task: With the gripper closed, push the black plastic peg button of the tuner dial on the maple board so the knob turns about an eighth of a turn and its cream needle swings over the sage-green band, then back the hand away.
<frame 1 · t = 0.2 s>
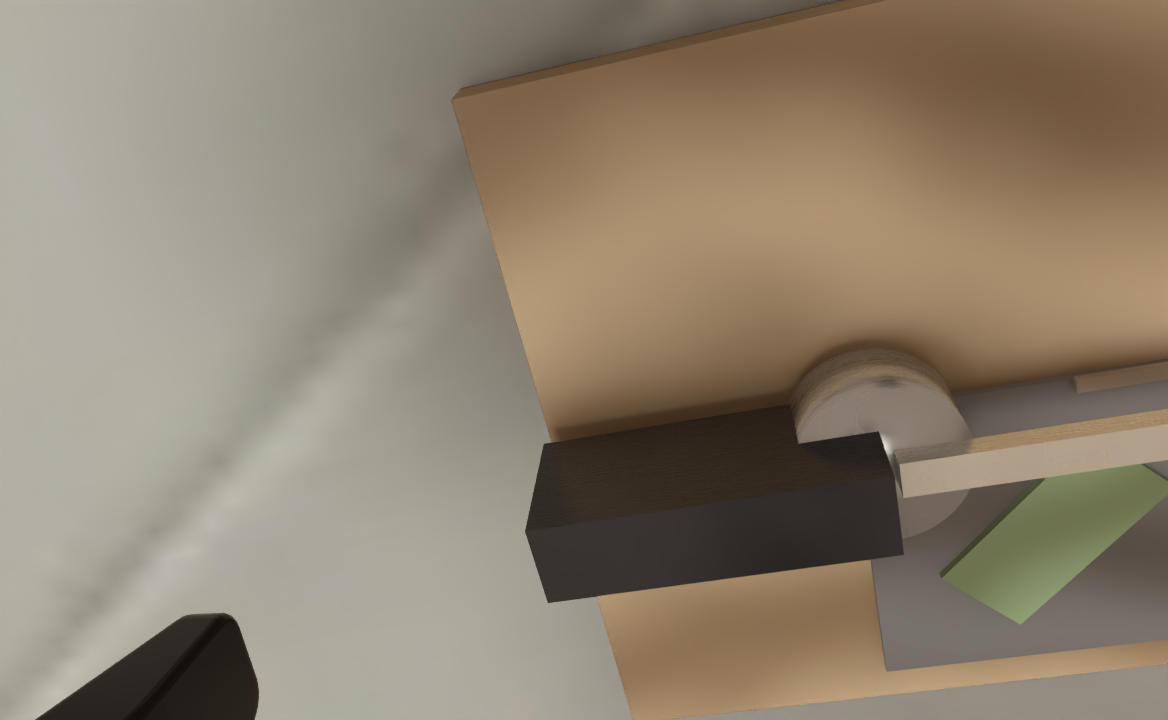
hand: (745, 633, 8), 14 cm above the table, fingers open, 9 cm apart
tuner board: (856, 389, 23), on the table
peg knob: (876, 467, 20), point 3 cm above the table, hinge at 0.0°
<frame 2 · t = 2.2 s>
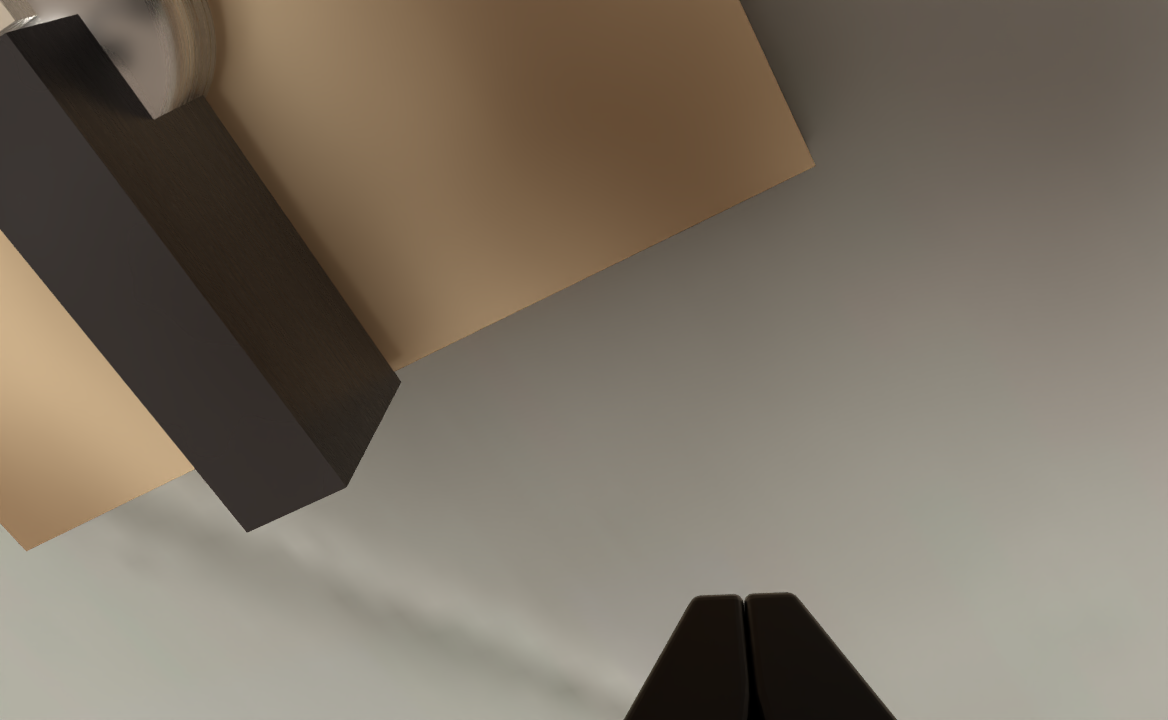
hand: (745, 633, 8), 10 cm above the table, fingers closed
tuner board: (144, 13, 16), on the table
peg knob: (38, 54, 14), point 3 cm above the table, hinge at 0.0°
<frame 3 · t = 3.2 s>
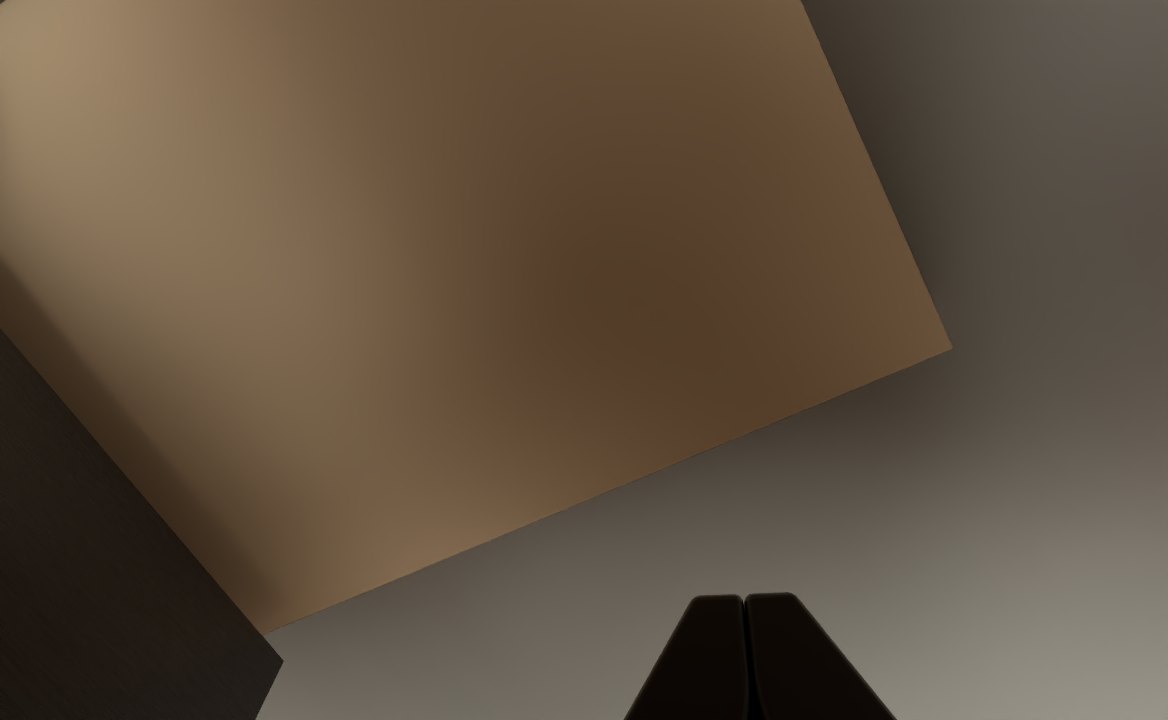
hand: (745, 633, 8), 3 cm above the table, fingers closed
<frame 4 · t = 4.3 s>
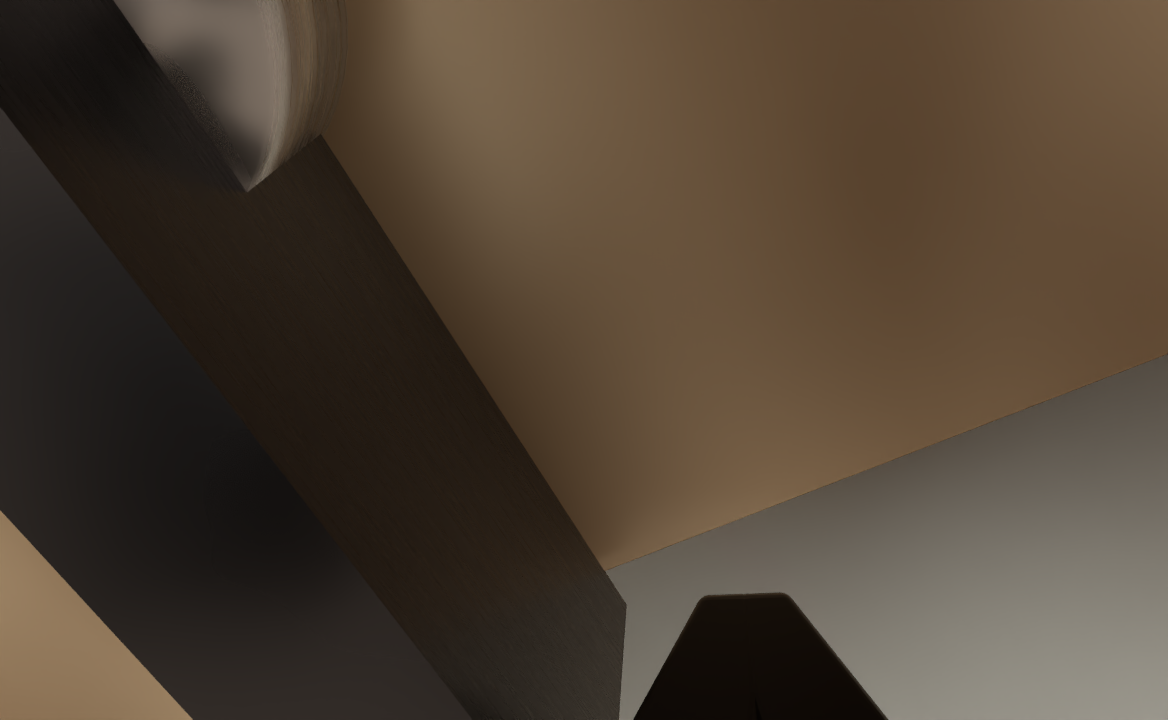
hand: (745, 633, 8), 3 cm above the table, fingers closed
peg knob: (18, 62, 7), point 3 cm above the table, hinge at -0.2°, touching gripper
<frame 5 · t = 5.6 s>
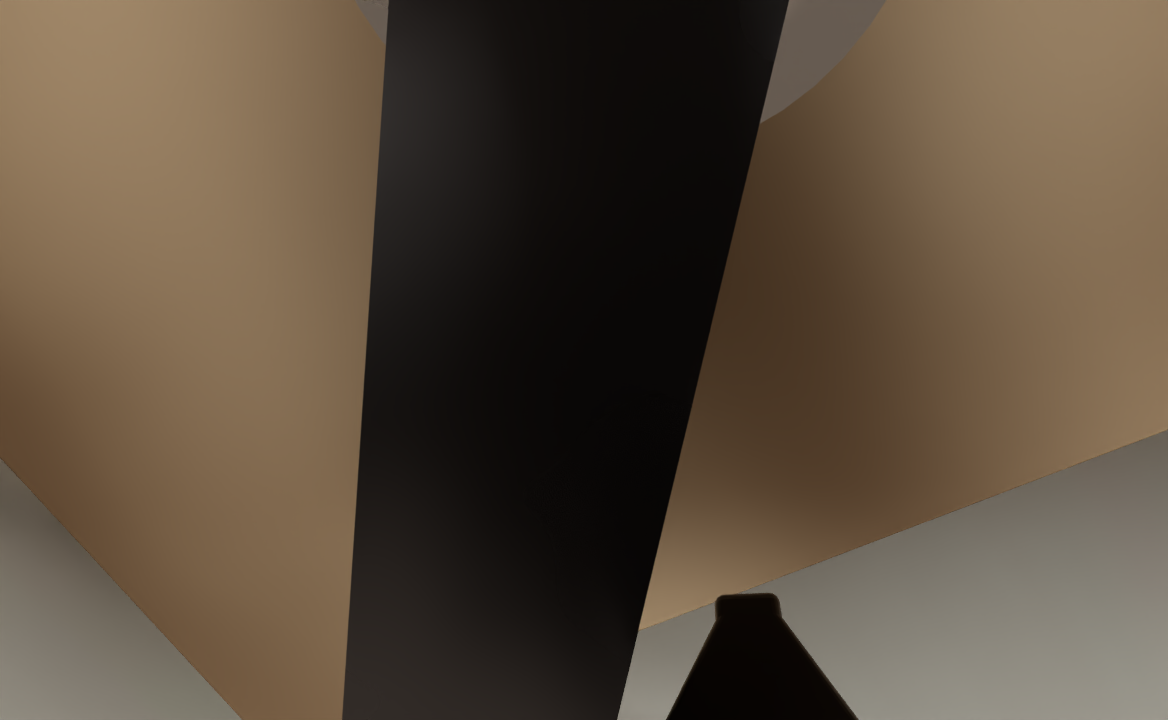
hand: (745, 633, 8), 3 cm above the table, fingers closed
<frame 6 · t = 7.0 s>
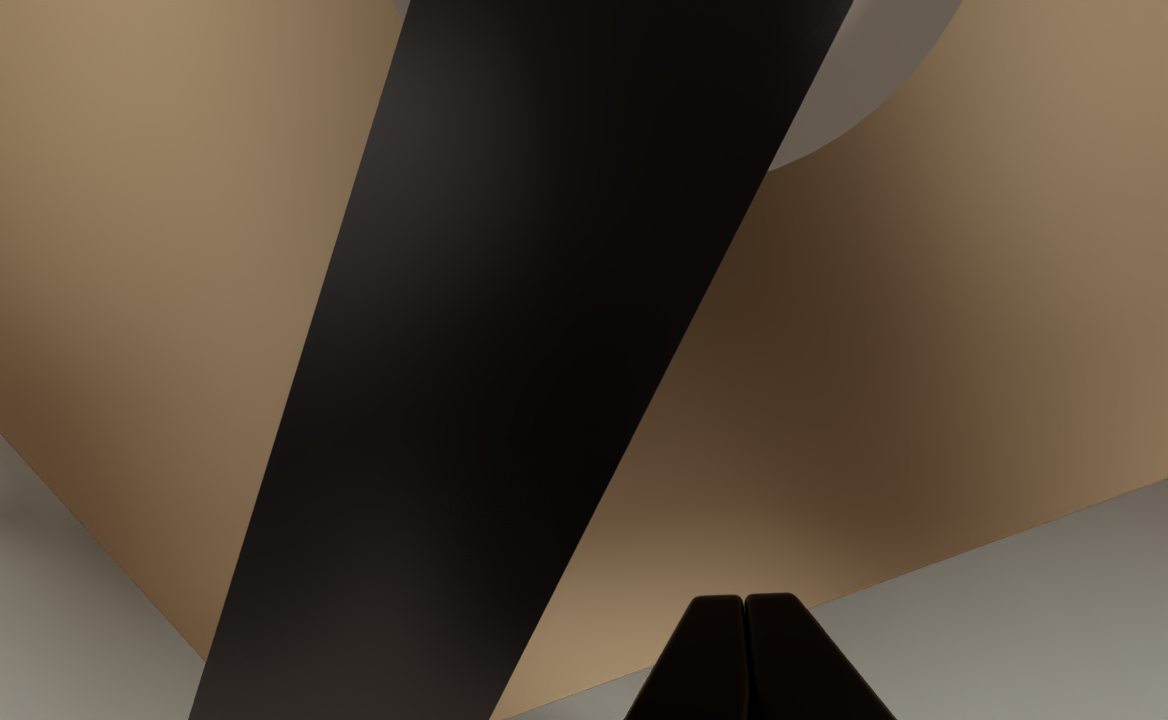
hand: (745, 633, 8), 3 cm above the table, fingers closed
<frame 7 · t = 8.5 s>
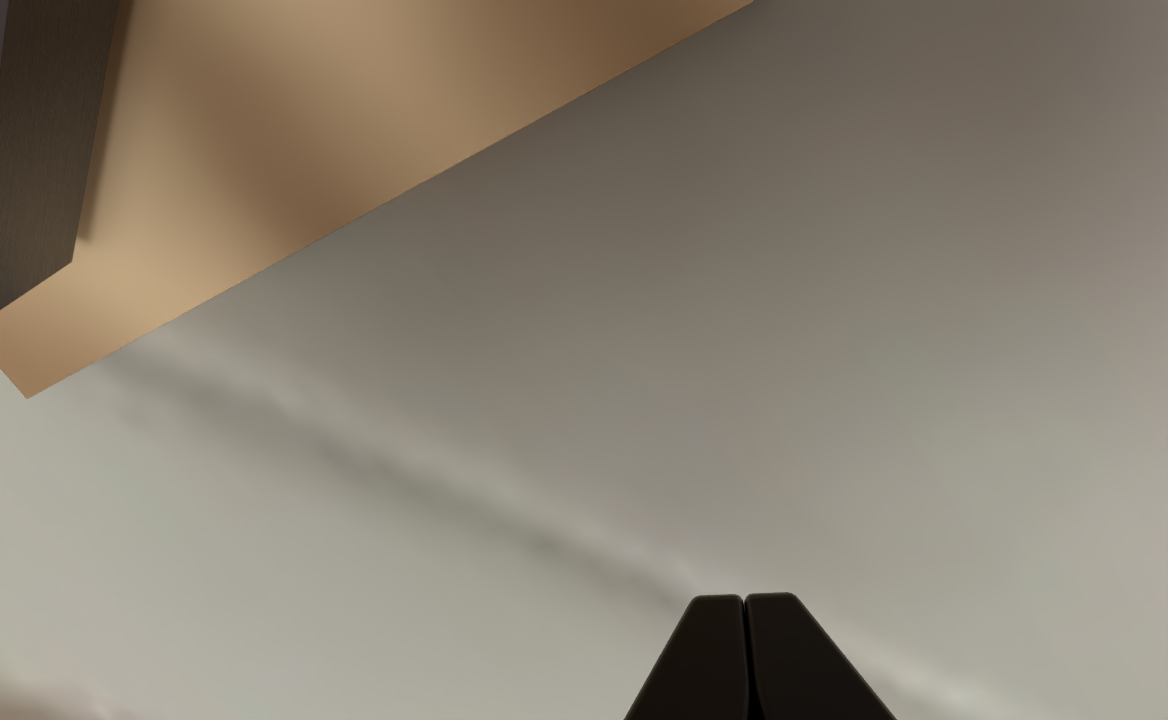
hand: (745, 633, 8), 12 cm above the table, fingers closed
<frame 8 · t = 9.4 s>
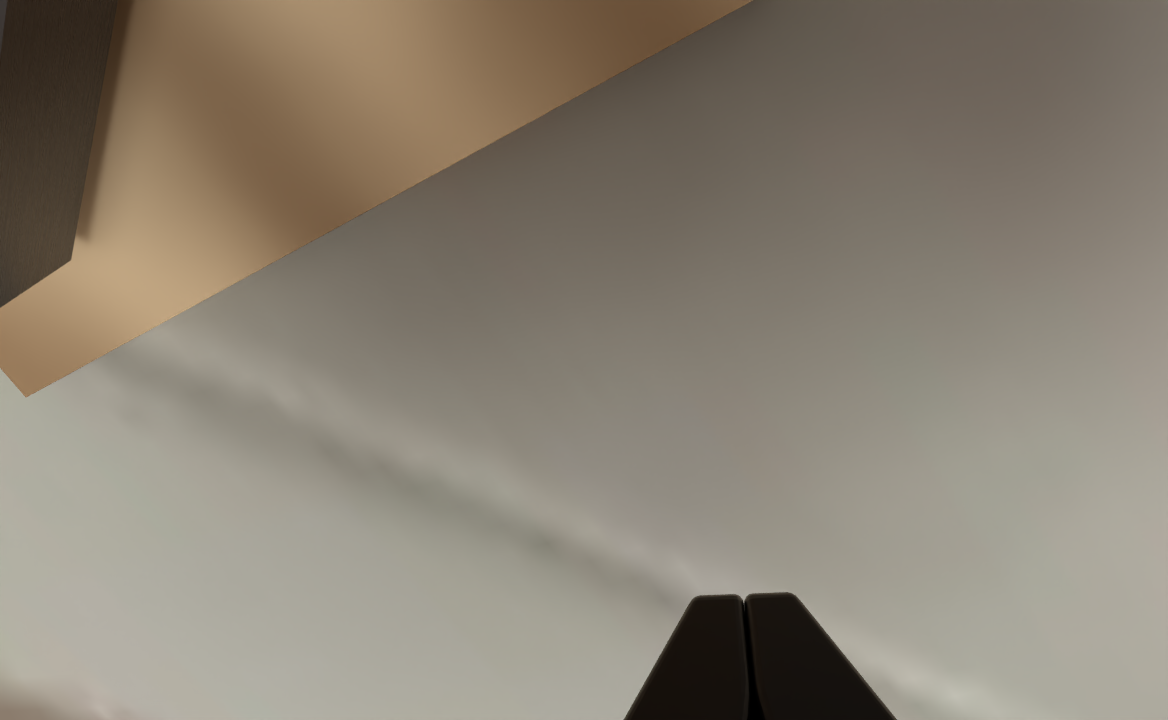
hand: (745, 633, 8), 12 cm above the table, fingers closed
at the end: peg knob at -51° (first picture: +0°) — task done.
